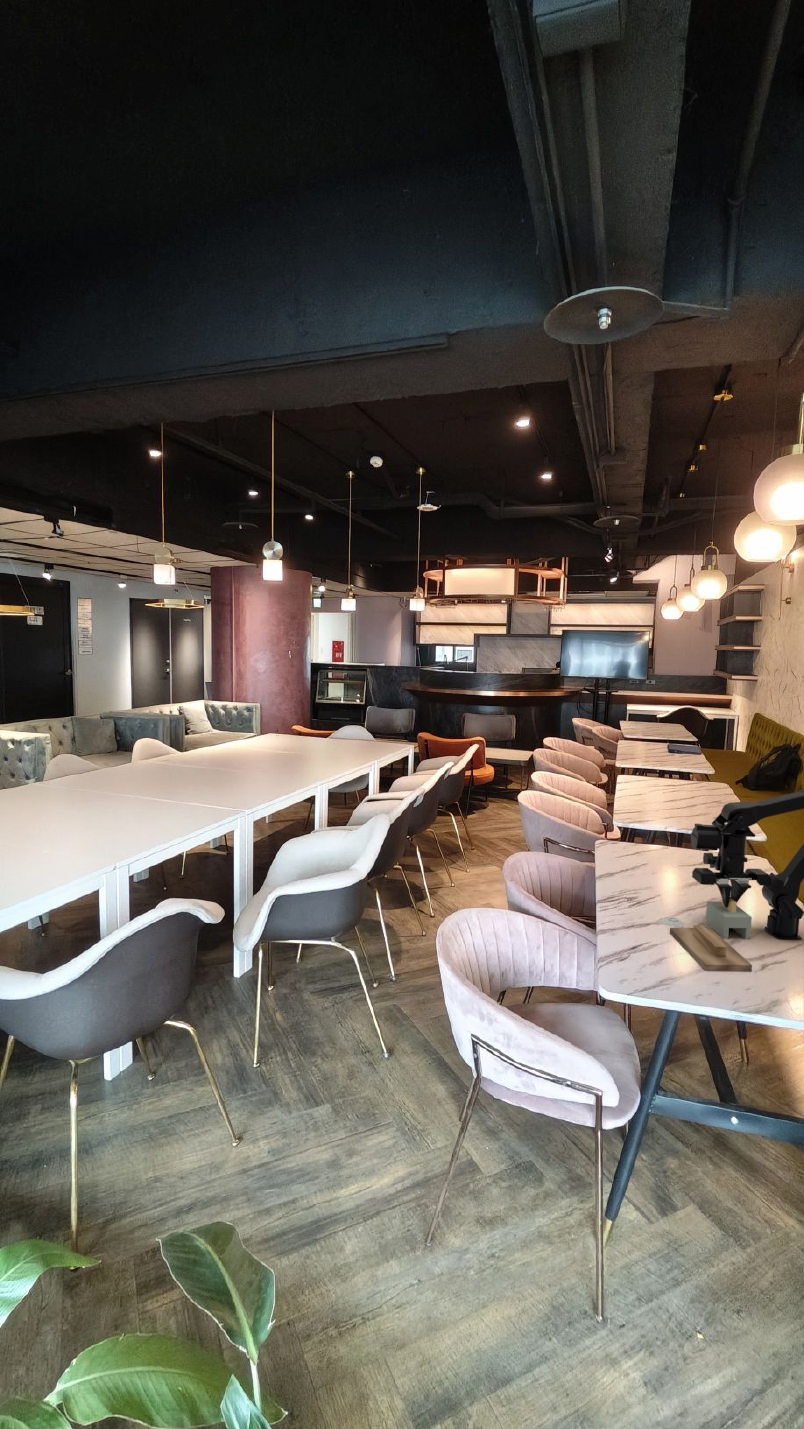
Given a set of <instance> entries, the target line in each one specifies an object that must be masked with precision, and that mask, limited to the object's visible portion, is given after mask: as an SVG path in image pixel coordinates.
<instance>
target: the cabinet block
mask: <svg viewBox="0 0 804 1429" xmlns="http://www.w3.org/2000/svg"><path fill="white" fill-rule="evenodd" d="M737 903H738V902H736V901H734V900H733V899H732V898H730V900H729V905H728V908H726V907H725V906H724V903H723V900H722V899H721V901H706V909H705V910H706V911H705V923H706V924H707V926H709V928H711V929H712V930H714V931H715V932H716V933H717V934H718V935H719V936H720V937H721V938H722V939H724V940H728V939H729V931H730V930H729V929H733V930H734V931H736V933H737V934H739V936H741V937H743V938H744V940H750V939H751V932H752V931H751V930H752V920H753V919H752V918H753V917H752V916H751V915H750V914H748V913H747V912H746V911H744V910H743V909H742V908H740V906H738V905H737Z"/></svg>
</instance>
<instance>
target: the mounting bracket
mask: <svg viewBox="0 0 804 1429" xmlns="http://www.w3.org/2000/svg"><path fill="white" fill-rule="evenodd" d="M659 923H660V924H662V925H664V926H670V927H672V928H684V925H685V921H680V920H679V918H677V917H674V916H669V917H667V918H661V919H660V921H659Z"/></svg>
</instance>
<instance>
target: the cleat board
mask: <svg viewBox="0 0 804 1429" xmlns="http://www.w3.org/2000/svg"><path fill="white" fill-rule="evenodd" d="M692 926H693V927H683V928H678V927H669V934H670V935H671V936H672V937H673V938H674V939H675V940H676V941H677V942H678V944H680V945H681V947H682V948H683V949H684V950H685V951H686V952H687V953H688V954H689V955H690V956H691V957H692V958H693V959H694V960H695V962H696V963H698V965H699V966H701V968H702V969H703V970H704V971H705V972H706V971H707V972H708V971H710V972H714V971H715V972H752V969H753V965H752V963H751V962H749V961H748V960H747V959H746V958H744V956H743V955H741V954H740V953H739V952H738V951H737V950H736V949H735V948H734V947H733V946H732V945H730V944H729V943H728V942H727V941H726V939H723V938H722V937H721V936H720V935H719V934H718V933H717V932H716V931H714V930H713V929H712V928H711V927H705V926H704V925H701V924H700V925H699V924H697V925H696V924H695V925H692Z"/></svg>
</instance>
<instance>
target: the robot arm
mask: <svg viewBox="0 0 804 1429" xmlns="http://www.w3.org/2000/svg"><path fill="white" fill-rule="evenodd" d="M800 810H804V789H802V790H799V791H795V792H792V793H788V794H784V795H780V796H775V797H771V798H768V799H764V800H759V801H738V802H737V801H736V802H728V803H726V804H724V805H723V807H722V808H721V810H720V813H719V814H718V815H717V817H716V818H715V819H714V820H713V821H712V822H711V824H702V823H694V827H693V828H692V830H691V833H690V845H691V847H692V849H693V850H702V851H703V850H704V851H718V853H717V855H716V856H715V855H714V853H713V852H703V856H702V860H703V865H709V868H708V867H695V868H693V870H692V872H691V873H692V874H691V878H693V879H694V880H695V881H696V882H698V883H699V884H700V885H702V886H705V885H706V886H714V885H716V886H717V888H718V891H719V893H720V896H721V901H722V900H723V903H724V906H725V907H726V908H728V905H729V900H730V898H732V899H733V900H734V901H736V902H737V903H738V902H739V900H740V899H741V898H742V897H743V895H745V893H746V892H747V890H749V889H751V888H752V885H750V884H749V883H750V881H756V883H757V884H758V886H762V888H761V893H762V897H763V898H764V899H765V900H766V901H767V904H768V906H769V907H771V909H769V914H767V919H766V921H767V923H766V926H764V930H765V931H767V932H768V933H770V934H771V935H772V936H773V937H774V938H776V939H777V940H802V939H803V938H802V936H801V935H800V934H799V928H800V920H801V919H802V918H803V916H804V910H803V908H801V907H800V906H799V904H797V903H796V902H797V900H798V898H799V897H800V896H799V895H800V890H801V884H802V882H803V881H804V843H803V844H802V845H801V846H800V848H799V849H798V851H797V852H796V853H795V854H794V856H793V857H792V858H791V860H790V861H789V863H788V864H787V865H786V867H785V868H784V870H783V871H781V872H779V873H778V874H775V873H774V872H770V873H768V872H765V871H764V870H763V869H761V868H746V870H745V863H748V857H746V847H747V846H746V845H747V838H748V837H750V838H755V837H756V834H755V833H754V832H753V831H752V830H751V828H750V827H752V826H754V825H755V824H756V825H757V823H759V822H760V821H761V820H763V819H766V818H770V817H774V816H778V815H784V814H787V813H791V812H796V811H800ZM718 849H719V850H720V851H719V850H718ZM711 869H714V870H716V871H713V870H711ZM717 871H718V872H717ZM729 881H730V882H729ZM729 883H730V884H731V885H730V884H729Z"/></svg>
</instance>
